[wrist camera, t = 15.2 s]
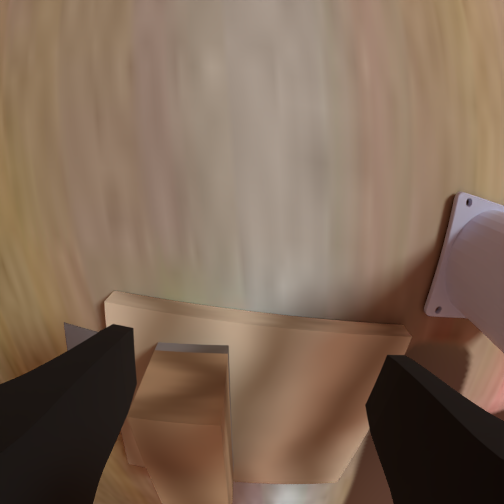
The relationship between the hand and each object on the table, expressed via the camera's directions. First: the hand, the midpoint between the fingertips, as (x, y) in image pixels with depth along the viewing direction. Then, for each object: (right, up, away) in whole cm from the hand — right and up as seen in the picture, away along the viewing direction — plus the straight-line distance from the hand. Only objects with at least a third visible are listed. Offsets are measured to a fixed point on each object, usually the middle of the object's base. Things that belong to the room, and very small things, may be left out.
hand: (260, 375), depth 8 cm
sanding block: (-4, -7, +11) cm, 13 cm away
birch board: (-1, -8, +12) cm, 15 cm away
